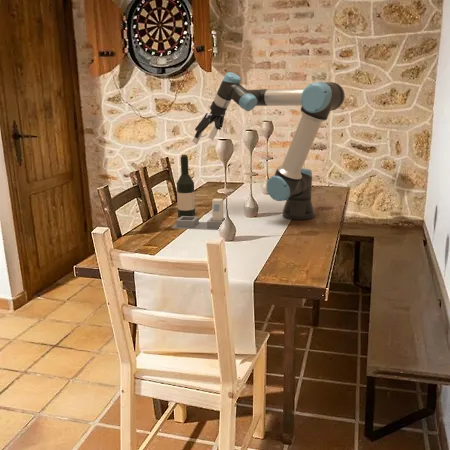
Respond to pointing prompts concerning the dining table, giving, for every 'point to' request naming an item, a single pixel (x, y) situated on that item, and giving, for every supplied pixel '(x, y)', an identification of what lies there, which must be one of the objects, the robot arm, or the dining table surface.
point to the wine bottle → (185, 191)
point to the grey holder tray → (196, 223)
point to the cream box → (217, 210)
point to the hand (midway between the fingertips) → (202, 140)
